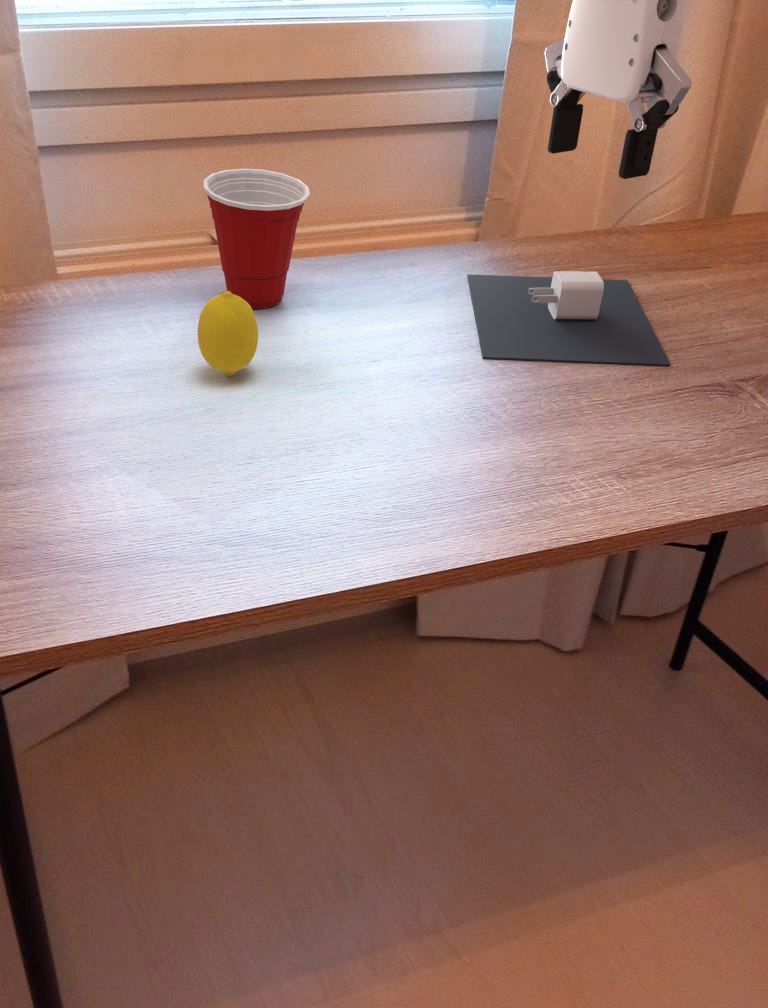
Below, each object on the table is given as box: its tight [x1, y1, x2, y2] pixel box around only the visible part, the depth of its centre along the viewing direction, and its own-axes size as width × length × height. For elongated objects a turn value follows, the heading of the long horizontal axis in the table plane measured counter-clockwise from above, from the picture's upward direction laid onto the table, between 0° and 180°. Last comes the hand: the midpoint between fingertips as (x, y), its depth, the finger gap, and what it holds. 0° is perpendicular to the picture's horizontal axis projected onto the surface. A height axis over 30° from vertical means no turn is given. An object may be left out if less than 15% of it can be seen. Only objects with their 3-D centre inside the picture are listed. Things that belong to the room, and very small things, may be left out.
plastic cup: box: [203, 168, 311, 310], centre depth 106 cm, size 11×11×12 cm
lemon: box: [197, 290, 259, 377], centre depth 93 cm, size 6×6×8 cm
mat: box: [466, 273, 671, 367], centre depth 107 cm, size 22×18×1 cm
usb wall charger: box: [528, 270, 604, 320], centre depth 106 cm, size 4×7×4 cm, turn 91°
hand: (596, 163), depth 96 cm, fingers open, 9 cm apart
